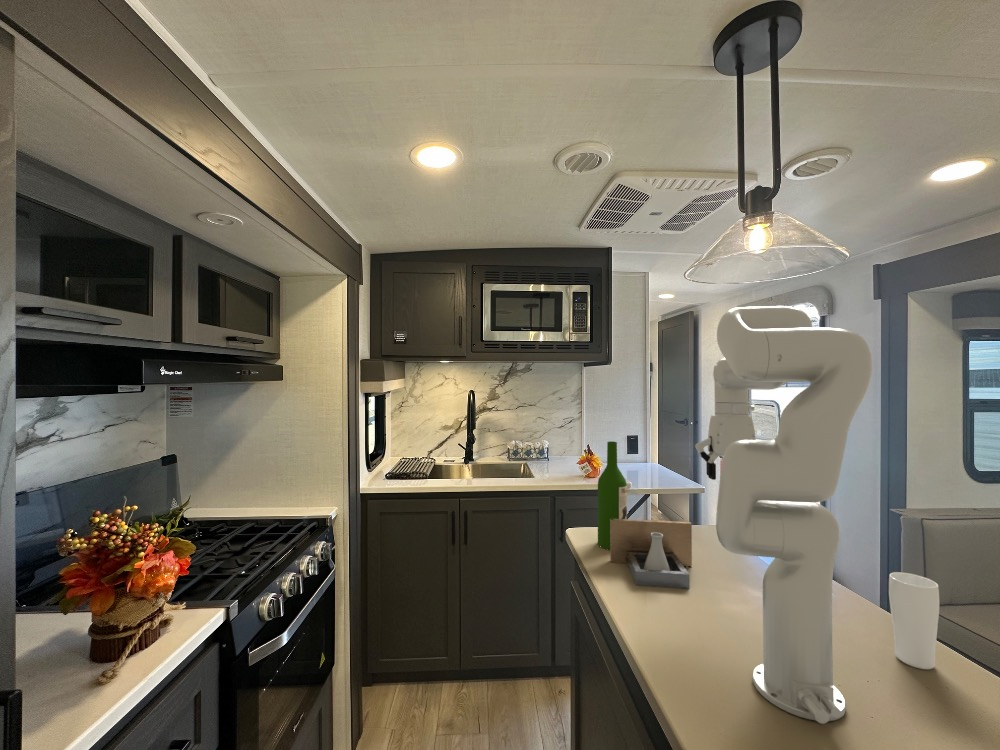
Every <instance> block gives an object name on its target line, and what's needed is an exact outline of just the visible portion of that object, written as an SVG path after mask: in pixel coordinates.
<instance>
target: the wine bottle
mask: <svg viewBox="0 0 1000 750" xmlns="http://www.w3.org/2000/svg"><path fill="white" fill-rule="evenodd" d="M606 443H607V445H606V446H607V447H606V448H607V449H606V451H607V452H606V456H607V457H606V459H607V460H606V467H605V468H604V470H603V471H602V472H601V474H600V476H599V477H598V480H597V544H598V547H600V546H601V547H602V548H601V547H600V548H601V549H604V548H606V549H605V550H607V549H610V519H628V485H627V481H626V479H625V477H624V475H623V473H622V472H621V470H620V468H619V466H618V442H617V441H607V442H606Z"/></svg>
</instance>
